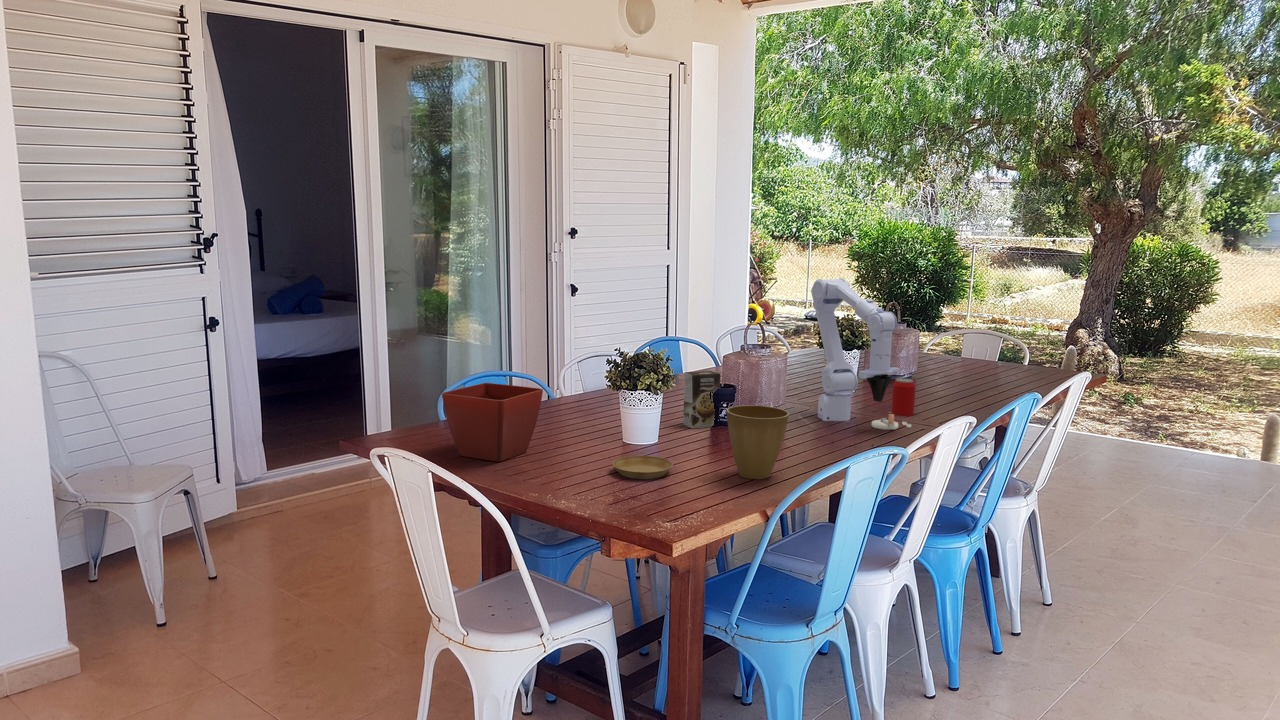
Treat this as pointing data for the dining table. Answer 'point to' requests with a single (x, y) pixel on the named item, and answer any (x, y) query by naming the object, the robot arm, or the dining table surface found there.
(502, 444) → the plant pot
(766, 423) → the plant pot
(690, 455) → the dining table surface
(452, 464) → the dining table surface
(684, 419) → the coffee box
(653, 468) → the plant saucer
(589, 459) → the dining table surface
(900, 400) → the beverage can
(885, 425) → the white lever switch
